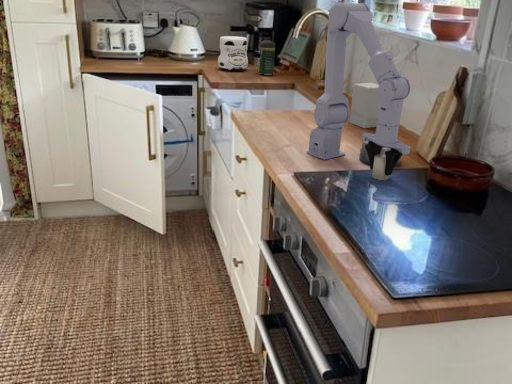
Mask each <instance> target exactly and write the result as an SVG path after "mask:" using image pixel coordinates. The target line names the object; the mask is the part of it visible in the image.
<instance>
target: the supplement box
mask: <svg viewBox="0 0 512 384" xmlns="http://www.w3.org/2000/svg"><path fill="white" fill-rule="evenodd" d="M377 87H379V85H378V83H374V82H364V83H363V82H362V83H361V82H360V83H358V82H357V83H354V84H353V90H352V96H351V97H352V99H351V107H350V108H351V109H350V116H349V123H350V124H352V125H355V126H356V127H360V128H362V129H368V128H376V127H377V120H378V113H379V107H380V106H379V104H378V103H379V97H378V95H377Z"/></svg>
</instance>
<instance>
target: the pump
mask: <svg viewBox="0 0 512 384" xmlns="http://www.w3.org/2000/svg"><path fill="white" fill-rule="evenodd" d="M385 166H386V156H385V155H383V154H377V155H375V158H374V164H373V170H371V171H372V173H371V178H372V177H373V178H375V179H374V180H376V179H378V180H377V181H381V180H384V181H387V180H388V179H389V175H388V176H386V175H385ZM373 178H372V179H373Z"/></svg>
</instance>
